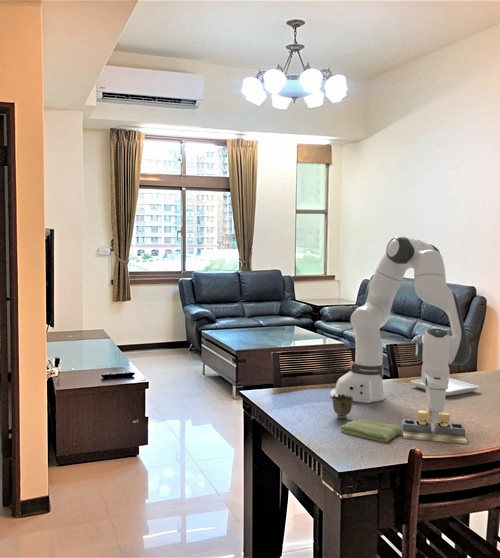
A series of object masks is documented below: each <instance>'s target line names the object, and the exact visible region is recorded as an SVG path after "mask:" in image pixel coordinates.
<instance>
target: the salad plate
mask: <svg viewBox="0 0 500 558" xmlns="http://www.w3.org/2000/svg"><path fill="white" fill-rule="evenodd" d="M410 383H411V384H412V385H413V386H415V387H417V388H420V389H421V388H422V390H424V391H426V387H425V384H424V383H423V382H422V381H421V378H419V379H414V380H413V379H412V380H410ZM479 388H480V386H479V385H476V384H472V383H470V382H466V381H462V380H458V379H455V378H454V379H453V378H451V377H449V384H448V389H446V395H445V397H451V396H455V395H456V396H457V395H462V394H467V393H472V392H475V391H476V390H478V389H479Z"/></svg>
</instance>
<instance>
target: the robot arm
mask: <svg viewBox="0 0 500 558" xmlns="http://www.w3.org/2000/svg"><path fill="white" fill-rule="evenodd" d="M385 251H386V252H385V253H384V255H383V256H382V258H381V259H380V261H379V263H378V266H377V267H376V270H375V271H374V274H373V275H372V279H371V281H370V283H369V286H368V291H367V293H368V294H367V297H366V300H365V303H364V305H361V306H358V307H357V308H355V310H354V311H353V312H352V314H351V315H350V324H351V326H352V328H353V334H354V341H355V357H354V361H353V360H352V361H350V362H349V363H348V364H349V371H348V372H346V373H345V374H344V375H342V376H340V377H339V378H338V379H337V381H336V385H335V388H332V389H331V391H330V393H329V396H330V397H331V398H332V396H334V395H335V396H337V397H338V394H340V395H342V394H344V395H345V396H347V395H348V397H349V396H352V398H353V401H352V402H357V403H358V402H359V403H366V404H370V403H374V402H381V401H384V400H385V399H386V395H385V391H384V385H383V378H384V363H383V358H384V357H383V353H384V350H383V349H384V344H383V343H382V339H381V338H382V337H381V332H380V331H381V330H380V329H381V328H383V327H384V326H385V325H386V324H387V322H388V321H389V319H390V318H389V317H390V314H391V310H392V306H393V303H394V300H395V297H396V296H397V293H398V290H399V288H400V285H401V283H402V281H403V279H404V276H405V274H406V272H407V270H409V269H413V272H414V273H413V276H414V277H413V278H414V280H413V281H414V282H413V284H414V291H415V294H416V296H417V297H418V298H419V299H420V300H421V301H422V302H424V303H426V304H428V305H431V306H433V307H436V308H439V310H441V311H444V312H445V313H446V315H447V316H448V321H449V324H450V330H451V334H452V335H449V332H448V331H447V330H444V329H441V328H429V329H427V330H426V331H425V332H424V334H423V335H420V336H419V337H418V338H417V339H416V340H415V352H414V356H415V357H416V358H417V359H418V360H419V361H421V362H422V366H421V376H420V377H421V378H420V379H421V381H422V382H423V383H424V384H425V387H426V390H425V396H426V399H427V402H428V411H432V421H431V422H432V423H434V424H435V423H437V422H439V421H438V416H439V413H442V412H443V411H444V409H445V408H444V407H445V403H446V396H445V395H446V389H448V384H449V378H450V367H449V365H456V366H463V365H464V364H466V363H467V362H469V360H470V359H471V354H472V350H471V349H472V348H471V345H470V342H469V339H468V336H467V331H466V328H465V324H464V320H463V316H462V312H461V311H462V310H461V307H460V303H459V300H458V298H457V295H456V293H454V292H452V291H451V289H450V288H449V287H448V283H447V279H446V269H445V264H444V258H443V256H442V254H441V251H440V250H439V248H437V247H436V246H435V245H433V244H431V243H427V242H425V241H422V240H419V239H415V238H410V237H407V236H404V235H403V236H401V235H397V236H396V235H395V236H394V237H393V238H392V237H391V239H390V240H389V242H387V245H386V250H385Z"/></svg>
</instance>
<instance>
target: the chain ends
mask: <svg viewBox="0 0 500 558" xmlns="http://www.w3.org/2000/svg"><path fill="white" fill-rule="evenodd" d="M401 423H402V427H401V430H402V429H403V431H405V432H417V433H428V434H431V425H432V423H431V421H427V425H419V419H418V420H417V419H415V420H414V419H406V418H405V419H403V418H402V419H401ZM434 429H435V432H436V434H439V435H451V436H462V437H465V438H466V428H465V425H464V424H463V423H453V422H448V427H440V422H439V421H438V422H437V423H434Z"/></svg>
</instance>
